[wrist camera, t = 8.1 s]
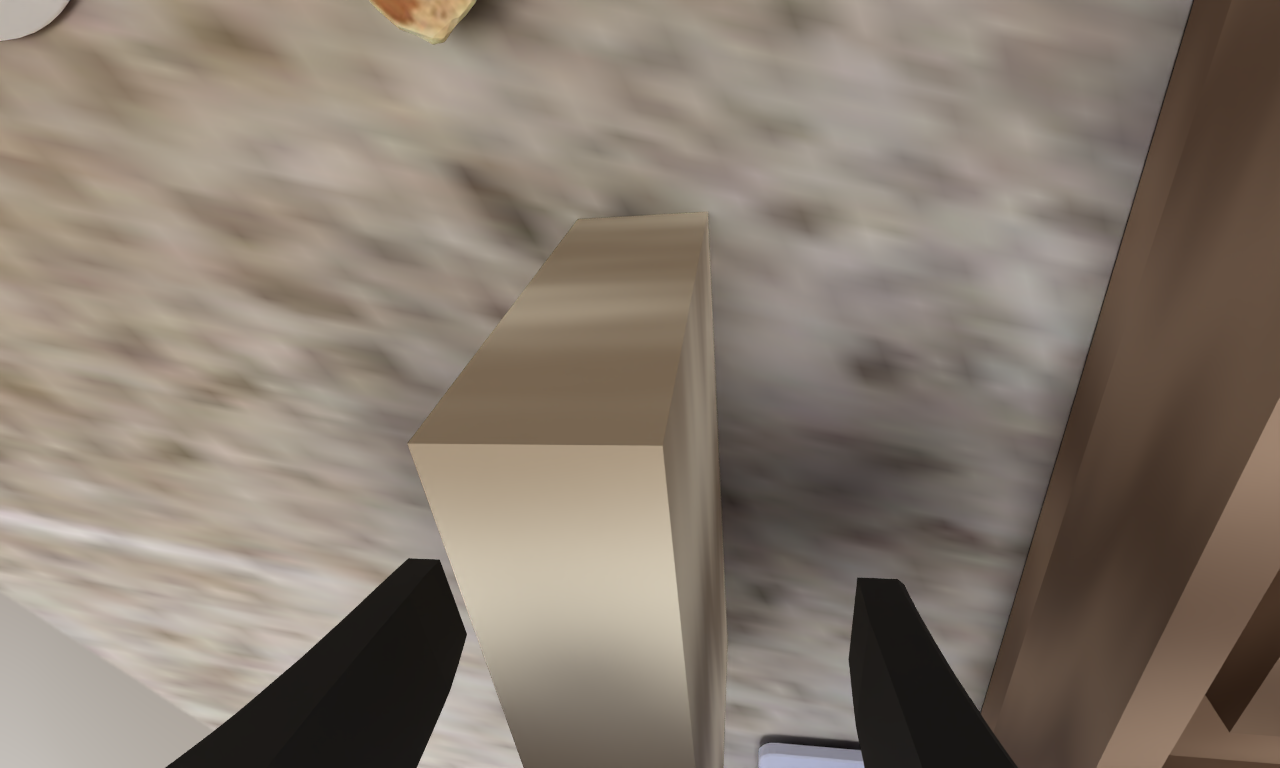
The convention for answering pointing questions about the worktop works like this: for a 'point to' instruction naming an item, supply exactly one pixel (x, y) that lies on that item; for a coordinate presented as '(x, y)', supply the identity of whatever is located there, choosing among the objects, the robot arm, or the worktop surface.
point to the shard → (425, 16)
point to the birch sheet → (594, 501)
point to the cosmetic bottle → (27, 16)
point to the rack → (1170, 454)
